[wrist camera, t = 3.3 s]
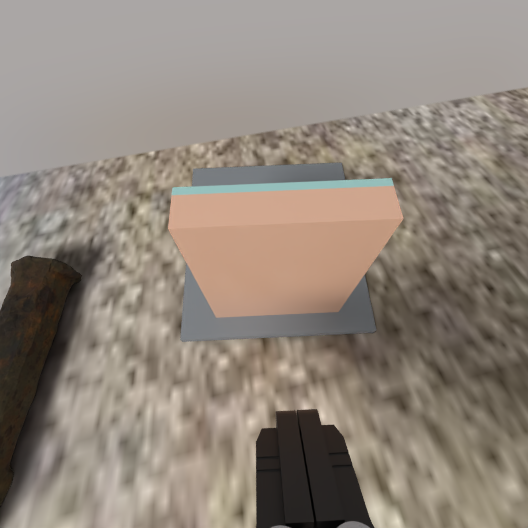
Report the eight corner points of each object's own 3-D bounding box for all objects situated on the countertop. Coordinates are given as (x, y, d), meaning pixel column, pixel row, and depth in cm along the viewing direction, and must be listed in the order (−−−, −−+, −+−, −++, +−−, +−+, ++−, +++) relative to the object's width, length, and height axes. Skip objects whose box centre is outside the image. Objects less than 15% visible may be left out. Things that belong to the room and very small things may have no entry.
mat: (340, 167, 29) (341, 162, 29) (373, 332, 22) (376, 330, 22) (194, 173, 29) (193, 168, 29) (182, 341, 22) (180, 339, 22)
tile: (334, 286, 23) (391, 178, 13) (338, 311, 22) (403, 218, 12) (216, 292, 23) (172, 187, 12) (216, 317, 22) (168, 228, 12)
